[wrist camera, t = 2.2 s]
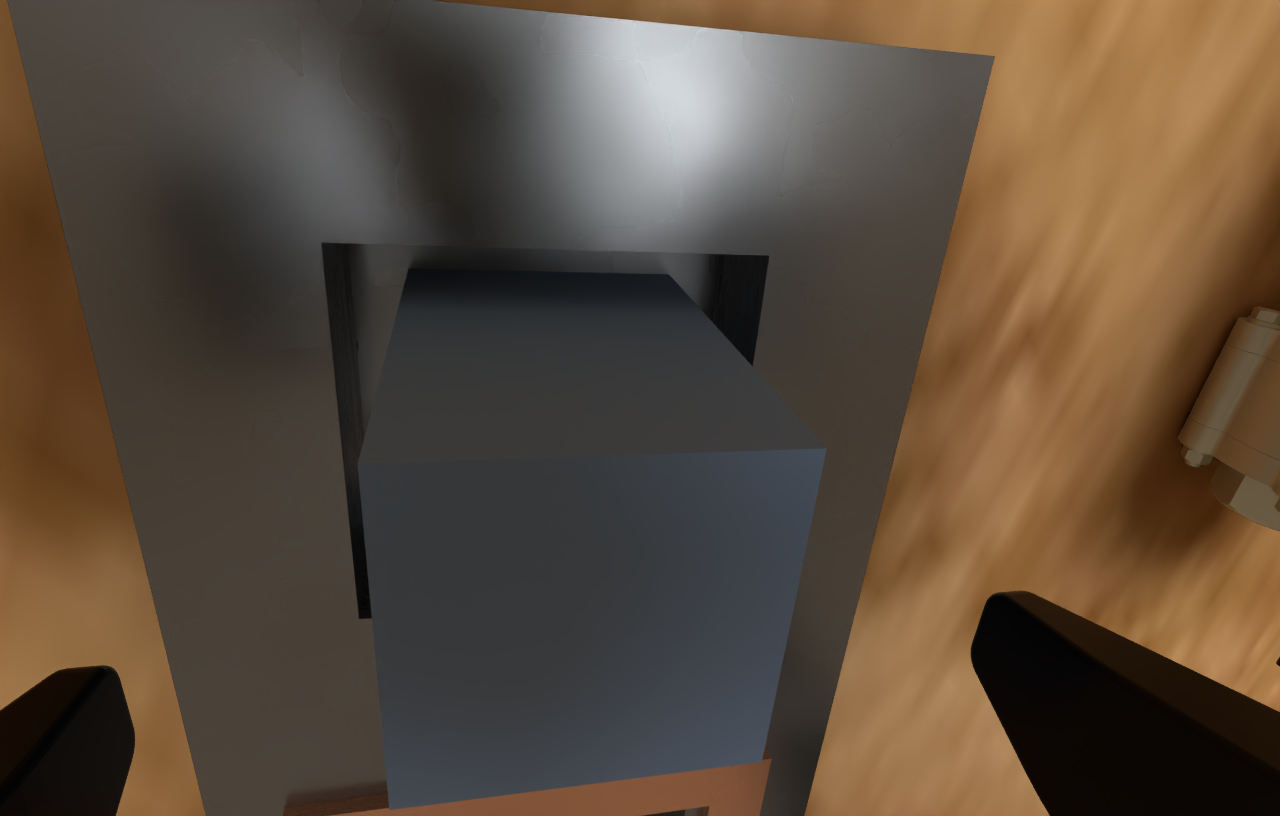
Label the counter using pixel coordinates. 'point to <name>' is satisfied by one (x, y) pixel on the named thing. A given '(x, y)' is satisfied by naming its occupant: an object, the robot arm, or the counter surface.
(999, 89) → the counter surface
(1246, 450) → the pneumatic valve
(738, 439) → the slate gray peg
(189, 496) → the socket plate
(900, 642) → the counter surface
